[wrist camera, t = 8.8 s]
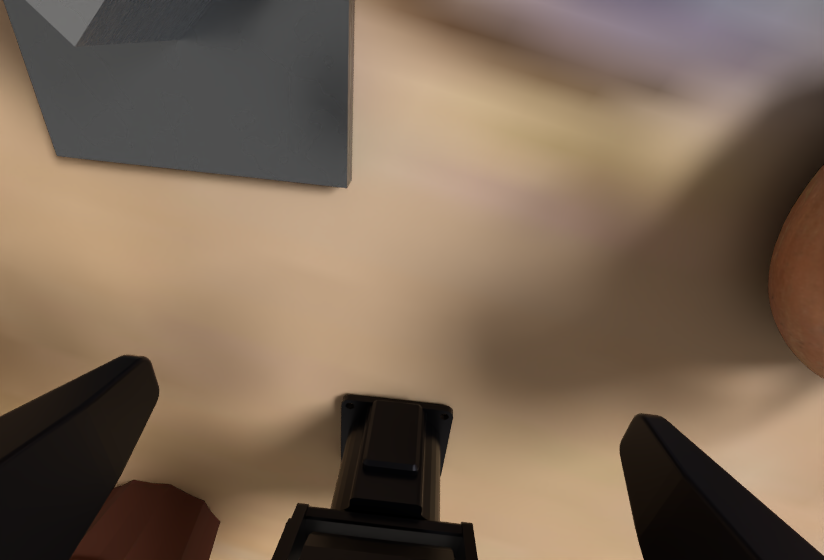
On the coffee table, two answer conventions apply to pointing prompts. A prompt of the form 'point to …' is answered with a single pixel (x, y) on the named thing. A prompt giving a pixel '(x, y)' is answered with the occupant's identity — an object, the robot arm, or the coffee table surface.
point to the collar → (120, 19)
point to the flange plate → (206, 91)
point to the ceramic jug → (801, 277)
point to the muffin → (149, 526)
